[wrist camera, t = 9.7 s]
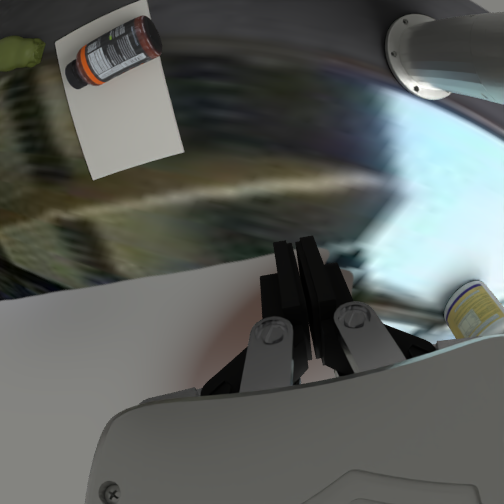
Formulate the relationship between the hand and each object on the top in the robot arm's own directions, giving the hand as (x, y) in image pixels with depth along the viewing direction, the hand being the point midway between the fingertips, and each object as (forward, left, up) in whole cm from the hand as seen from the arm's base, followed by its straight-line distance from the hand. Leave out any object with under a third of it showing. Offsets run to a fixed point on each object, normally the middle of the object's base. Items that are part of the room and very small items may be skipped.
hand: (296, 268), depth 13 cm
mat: (+17, -12, -27) cm, 34 cm away
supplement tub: (-38, +37, -27) cm, 60 cm away
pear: (+30, -25, -28) cm, 48 cm away
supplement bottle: (+9, -16, -24) cm, 30 cm away
